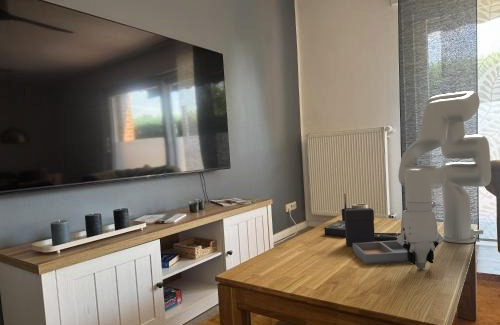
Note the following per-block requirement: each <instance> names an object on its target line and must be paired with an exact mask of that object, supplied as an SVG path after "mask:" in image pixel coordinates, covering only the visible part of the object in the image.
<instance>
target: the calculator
mask: <svg viewBox="0 0 500 325" xmlns="http://www.w3.org/2000/svg"><path fill="white" fill-rule="evenodd" d="M343 211H344V221H345V234H346V238H345V245H346V246H347V247H348V248H349V247H350V248H351V247H352V248H353V243H364V242H376V239H375V235H376V234H375V210H374V209H373V208H371V207H365V208H364V207H362V208H347V209H345V208H344V210H343Z"/></svg>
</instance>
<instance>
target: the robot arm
mask: <svg viewBox="0 0 500 325" xmlns="http://www.w3.org/2000/svg"><path fill="white" fill-rule="evenodd" d="M480 103H481V102H480V97H479V94H478V93H477V92H475V91H473V90H467V91H460V92H459V91H458V92H454V93H445V94H438V95H435V96H432V97H430V98H428V99H427V100H426V103H425V104H426V105H425V106H424V109H423V114H422V119H421V126H420V130H419V135H418V138H417V139H416V140H415V141H413V143H411V144H410V145H409V146H408V148H406V150H405V151H404V152H403V153H402V156H401V159H400V163H399V168H398V174H397V175H398V182H399V184H400V185H401V186H403V187H404V191H405V192H404V195H405V199H404V200H405V210H404V209H403V211H402V216H401V221H400V222H401V224H400V234H399V236H398V238H397V239H396V240H395V241H397V242H398V243H399V244H401V245H402V246H403V247H404V248H405V249H406V250H407V256H408V261H409V262H408V263H410V264H411V265H416V262H415V252H413V250H414V243H417V242H419V241H422V240H426V241H428V242H430V244H431V249H430V251H429V253H428V254H427V257H426V262H428V263H429V264H434V259H435V257H434V256H435V254H434V252H435V251H436V248H437V247H438V246H440V245H439V244H441V243H442V242H443V241H445V242H448V243H452V244H453V243H454V244H472V243H475V242H476V241H477V238H476V235H483V234H484V229H475V228H472V221H471V220H472V218H471V197H470V194H469V193H468V192H467V190H466V189H465V188H464V187H477V188H479V187H480V188H481V187H482V188H483V187H487V186H489V185H490V183H491V181H492V167H491V166H492V163H491V151H490V143H489V140H488V138H487V137H486V136H485V135H482V134H466V133H465V130H466V129H465V122H467V121H469V120H471V119H472V117H473V116H474V115H476V113H477V112H478V110H479V108H480ZM438 148H441V154H442V157H443V158H444V159H447V160H453V161H455V160H473V161H472V162H469V161H467V162H465V161H463V162H461V161H459V162H457V161H456V162H447V163H443V164H442V165H441V166H438V165H413V164H414V162H415V161H416V160H417V159H418V158H420V157H421V156H423V155H425V154H427V153H430V152H431V151H434V150H437V149H438ZM439 188H441V190H442V191H441V192H442V212H443V213H442V215H443V216H442V218H443V233H441V234H440V233H439V230H438V223H437V218H436V214H435V210H433V209H434V208H433V207H436V206H437V204H436V202H434V201H433V199H432V197H433V196H432V189H434V190H436V189H439ZM403 240H407V244H406V243H405V242H403Z"/></svg>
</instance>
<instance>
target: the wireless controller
mask: <svg viewBox="0 0 500 325" xmlns="http://www.w3.org/2000/svg"><path fill="white" fill-rule="evenodd" d="M346 196H347V195H346V193H344V210H345V209H348V208H347V199H346V198H347V197H346ZM323 230H324V236H327V237H336V238H345V239H346V234H345V220H337V221H335V222H332V223H331V224H329V225H327V226H325V227H324V229H323Z"/></svg>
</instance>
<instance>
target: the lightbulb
mask: <svg viewBox="0 0 500 325" xmlns="http://www.w3.org/2000/svg"><path fill="white" fill-rule="evenodd" d="M430 249H431V244H430V242H428V241H426V240H422V241H419V242H417V243H414V250H413V252H415V261H416V262H415V265H416V268H418V269H419V270H421V271H423V270H424V269H425V268H426V262H427V261H426V257H427V254H428V253H429V251H430Z"/></svg>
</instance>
